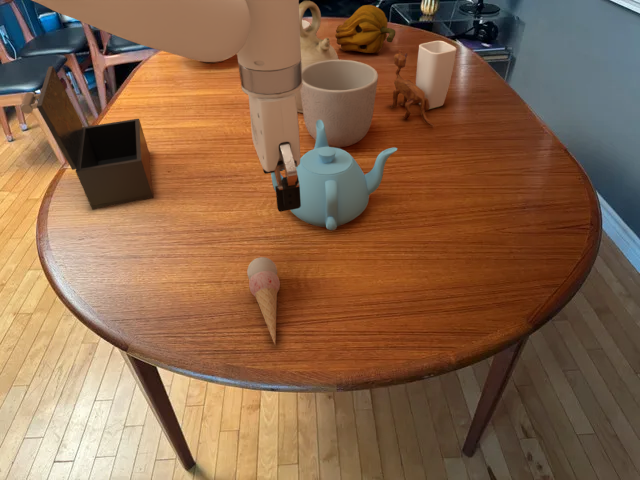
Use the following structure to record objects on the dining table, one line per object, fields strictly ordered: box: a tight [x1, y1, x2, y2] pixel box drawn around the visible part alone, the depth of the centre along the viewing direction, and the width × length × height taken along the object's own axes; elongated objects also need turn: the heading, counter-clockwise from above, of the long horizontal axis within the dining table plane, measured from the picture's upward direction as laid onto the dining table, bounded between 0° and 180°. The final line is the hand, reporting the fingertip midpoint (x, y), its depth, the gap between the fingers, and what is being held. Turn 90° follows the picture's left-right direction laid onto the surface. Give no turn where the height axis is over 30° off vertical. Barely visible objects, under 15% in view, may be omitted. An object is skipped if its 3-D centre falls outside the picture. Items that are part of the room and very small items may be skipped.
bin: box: [75, 118, 154, 210], centre depth 95 cm, size 12×18×9 cm, turn 18°
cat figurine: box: [389, 48, 436, 128], centre depth 112 cm, size 18×7×14 cm, turn 27°
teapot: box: [270, 120, 398, 231], centre depth 86 cm, size 17×19×12 cm
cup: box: [415, 40, 457, 110], centre depth 116 cm, size 7×7×15 cm
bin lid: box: [20, 65, 83, 171], centre depth 86 cm, size 13×18×5 cm
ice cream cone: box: [246, 256, 281, 345], centre depth 70 cm, size 5×5×15 cm
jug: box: [295, 0, 340, 114], centre depth 115 cm, size 15×16×25 cm
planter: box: [300, 59, 379, 148], centre depth 105 cm, size 17×17×15 cm
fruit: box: [334, 4, 396, 54], centre depth 146 cm, size 14×16×20 cm
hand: (281, 189), depth 68 cm, fingers open, 9 cm apart
